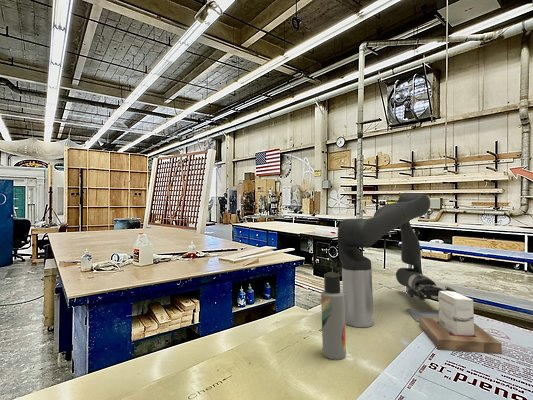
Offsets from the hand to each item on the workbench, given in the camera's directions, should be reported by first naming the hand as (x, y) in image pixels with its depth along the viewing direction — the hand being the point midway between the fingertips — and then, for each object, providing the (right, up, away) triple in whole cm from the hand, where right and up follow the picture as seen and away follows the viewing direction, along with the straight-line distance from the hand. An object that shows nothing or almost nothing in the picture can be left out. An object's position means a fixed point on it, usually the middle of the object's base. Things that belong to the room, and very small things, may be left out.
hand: (437, 297), depth 92 cm
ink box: (-2, -7, -12) cm, 14 cm away
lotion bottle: (-38, -7, -20) cm, 43 cm away
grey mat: (+1, -8, +4) cm, 9 cm away
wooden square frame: (-2, -7, -12) cm, 14 cm away
